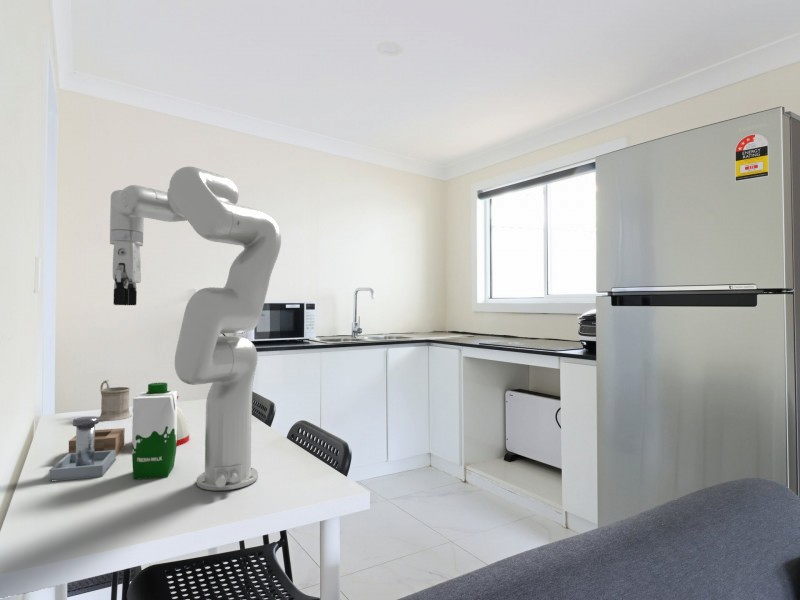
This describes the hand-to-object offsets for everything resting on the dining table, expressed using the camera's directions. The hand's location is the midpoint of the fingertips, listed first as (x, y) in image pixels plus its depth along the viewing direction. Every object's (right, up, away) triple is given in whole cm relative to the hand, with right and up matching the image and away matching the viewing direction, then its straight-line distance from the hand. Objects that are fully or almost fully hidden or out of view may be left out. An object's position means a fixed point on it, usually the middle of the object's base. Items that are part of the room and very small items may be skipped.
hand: (125, 305), depth 122 cm
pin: (-2, -37, -13) cm, 40 cm away
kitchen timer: (+4, -39, +10) cm, 40 cm away
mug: (-28, -39, +40) cm, 63 cm away
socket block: (-7, -38, -1) cm, 39 cm away
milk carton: (+15, -38, -14) cm, 44 cm away
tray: (-2, -38, -13) cm, 40 cm away
